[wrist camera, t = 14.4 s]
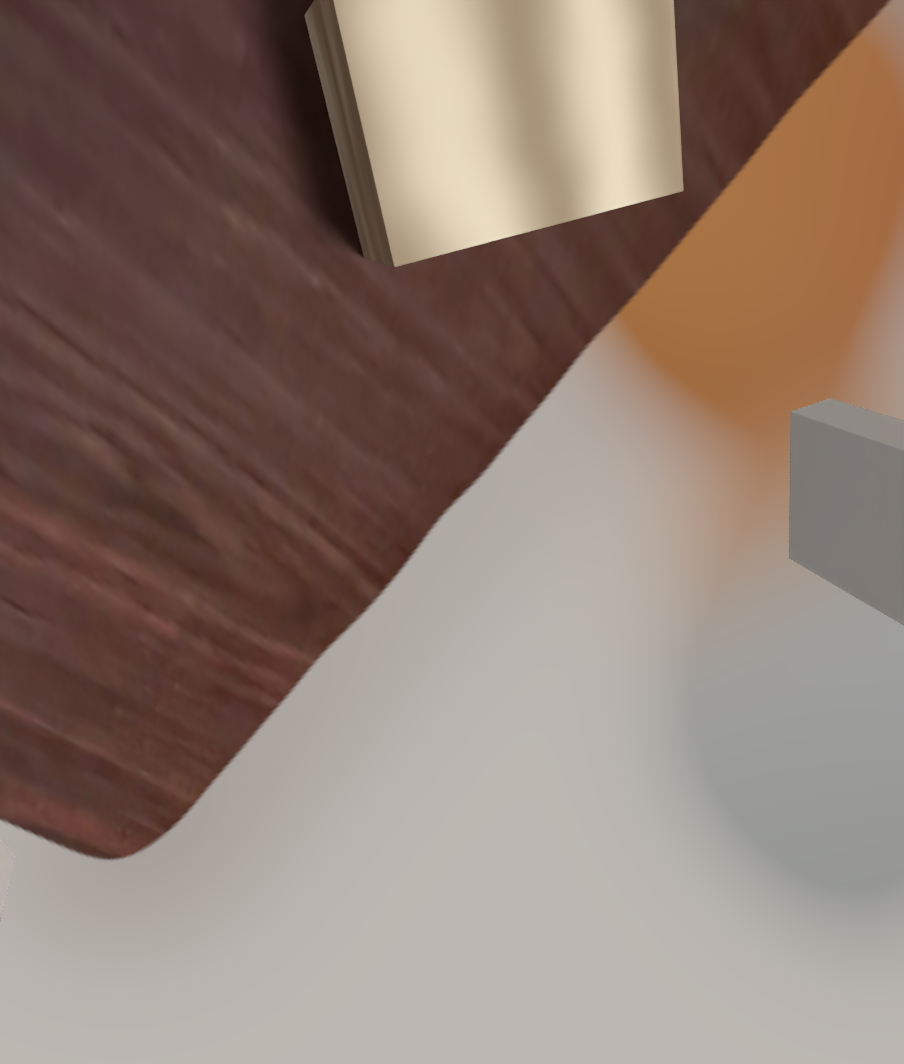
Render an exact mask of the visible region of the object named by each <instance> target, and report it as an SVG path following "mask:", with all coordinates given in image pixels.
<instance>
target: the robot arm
mask: <svg viewBox="0 0 904 1064" xmlns="http://www.w3.org/2000/svg"><path fill="white" fill-rule="evenodd" d="M789 513H790V514H789V558H790V559H792V560H793V561H795V562H796V563H798V564H800V565H802V566H803V567H805V568H807V569H808V570H810V571H812V572H814V573H815V574H817V575H819V576H820V577H822V578H824V579H826V580H827V581H829V582H831V583H832V584H834V585H836V586H837V587H839V588H841V589H843V590H844V591H846V592H848V593H849V594H851V595H853V596H855V597H856V598H858V599H860V600H862V601H863V602H865V603H866V604H868V605H870V606H872V607H873V608H875V609H877V610H879V611H880V612H882V613H884V614H885V615H887V616H889V617H890V618H892V619H894V620H895V621H897V622H899V623H901V624H902V625H904V420H901V419H898V418H894V417H891V416H887V415H884V414H881V413H877V412H874V411H871V410H868V409H864V408H861V407H858V406H854V405H851V404H847V403H844V402H841V401H838V400H835V399H831V398H829V399H827V400H824V401H821V402H818V403H815V404H812V405H809V406H806V407H804V408H800V409H798V410H795V411H791V427H790V511H789ZM15 860H16V858H15V857H14V855H13V854H12V852H11V851H10V850H9V848H8V847H7V845H6V844H5V843H4V841H3V840H2V839H1V837H0V919H1V916H2V912H3V908H4V904H5V900H6V896H7V892H8V888H9V884H10V880H11V876H12V872H13V869H14V865H15Z"/></svg>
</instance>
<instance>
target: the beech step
mask: <svg viewBox="0 0 904 1064" xmlns="http://www.w3.org/2000/svg"><path fill="white" fill-rule="evenodd" d="M304 16H305V20H306V24H307V28H308V32H309V36H310V40H311V44H312V49H313V53H314V57H315V61H316V65H317V69H318V73H319V77H320V81H321V85H322V89H323V93H324V97H325V101H326V105H327V109H328V113H329V118H330V122H331V126H332V130H333V134H334V138H335V142H336V146H337V150H338V154H339V158H340V162H341V166H342V170H343V174H344V178H345V182H346V187H347V191H348V195H349V199H350V203H351V207H352V211H353V215H354V219H355V223H356V227H357V231H358V235H359V239H360V243H361V247H362V251H363V256H364V258H366V259H370V260H373V261H376V262H380V263H383V264H386V265H390V266H393V267H396V266H400V265H404V264H408V263H411V262H415V261H419V260H423V259H427V258H430V257H434V256H438V255H442V254H446V253H449V252H453V251H457V250H461V249H465V248H468V247H472V246H476V245H480V244H484V243H487V242H491V241H495V240H499V239H503V238H506V237H510V236H514V235H518V234H521V233H525V232H529V231H533V230H537V229H540V228H544V227H548V226H552V225H556V224H559V223H563V222H567V221H571V220H575V219H578V218H582V217H586V216H590V215H594V214H597V213H601V212H605V211H609V210H613V209H616V208H620V207H624V206H628V205H632V204H635V203H639V202H643V201H647V200H651V199H654V198H658V197H662V196H666V195H670V194H673V193H677V192H681V191H683V175H682V155H681V136H680V117H679V97H678V78H677V58H676V39H675V20H674V0H314V1H313V3H312V4H311V6H310V7H309V9H308V10H307V12H306V14H305V15H304Z"/></svg>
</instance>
